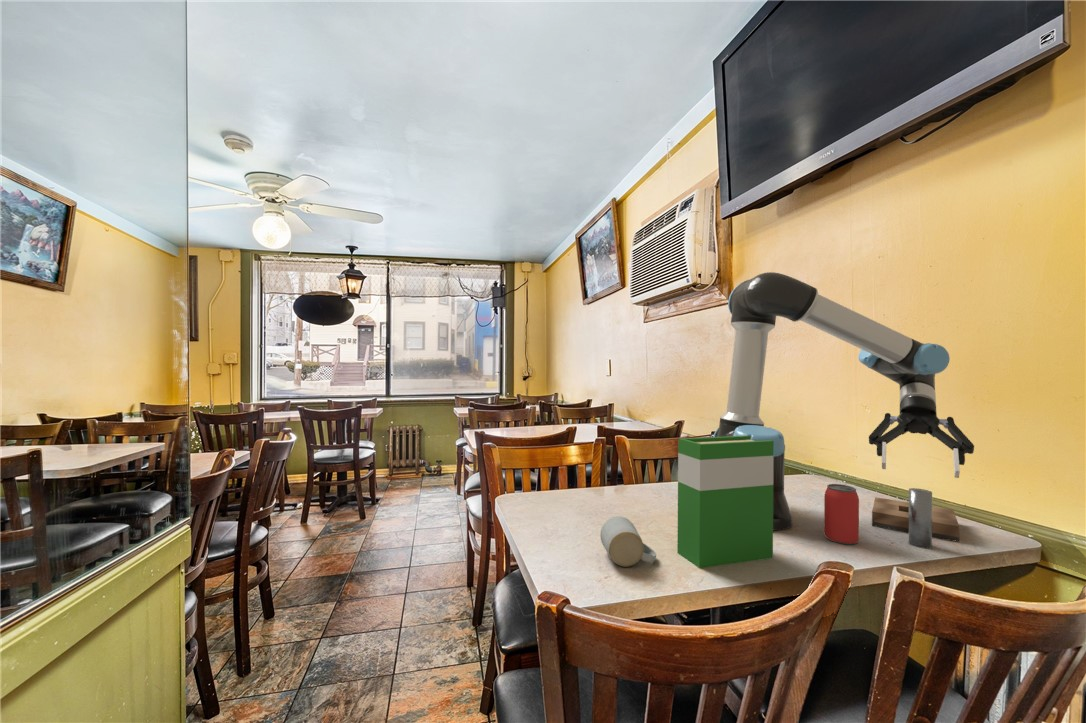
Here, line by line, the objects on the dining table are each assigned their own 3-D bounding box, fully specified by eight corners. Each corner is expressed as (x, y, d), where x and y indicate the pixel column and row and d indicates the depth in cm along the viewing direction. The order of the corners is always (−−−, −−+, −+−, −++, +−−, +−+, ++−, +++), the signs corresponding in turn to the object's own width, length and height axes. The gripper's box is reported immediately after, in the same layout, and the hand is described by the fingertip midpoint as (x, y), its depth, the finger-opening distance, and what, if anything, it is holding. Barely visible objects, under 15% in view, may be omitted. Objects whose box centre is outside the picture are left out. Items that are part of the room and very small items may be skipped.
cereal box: (746, 544, 100) (747, 435, 100) (772, 557, 93) (773, 441, 93) (677, 553, 95) (678, 438, 95) (699, 568, 88) (700, 444, 88)
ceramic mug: (608, 569, 87) (609, 529, 87) (599, 552, 95) (600, 515, 95) (662, 569, 88) (663, 529, 88) (648, 551, 96) (649, 515, 96)
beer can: (864, 546, 99) (864, 491, 99) (831, 544, 101) (831, 489, 101) (850, 535, 106) (850, 484, 106) (819, 533, 107) (819, 482, 107)
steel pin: (908, 545, 100) (908, 491, 100) (908, 539, 104) (908, 487, 104) (932, 549, 98) (932, 494, 98) (931, 544, 101) (931, 490, 101)
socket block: (872, 525, 113) (872, 511, 113) (875, 510, 125) (875, 497, 125) (959, 541, 103) (959, 526, 103) (953, 522, 115) (953, 509, 115)
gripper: (980, 416, 115) (989, 487, 104) (861, 410, 131) (857, 471, 119) (983, 396, 111) (993, 468, 99) (860, 392, 127) (855, 454, 115)
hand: (919, 470), depth 109 cm, fingers open, 13 cm apart
